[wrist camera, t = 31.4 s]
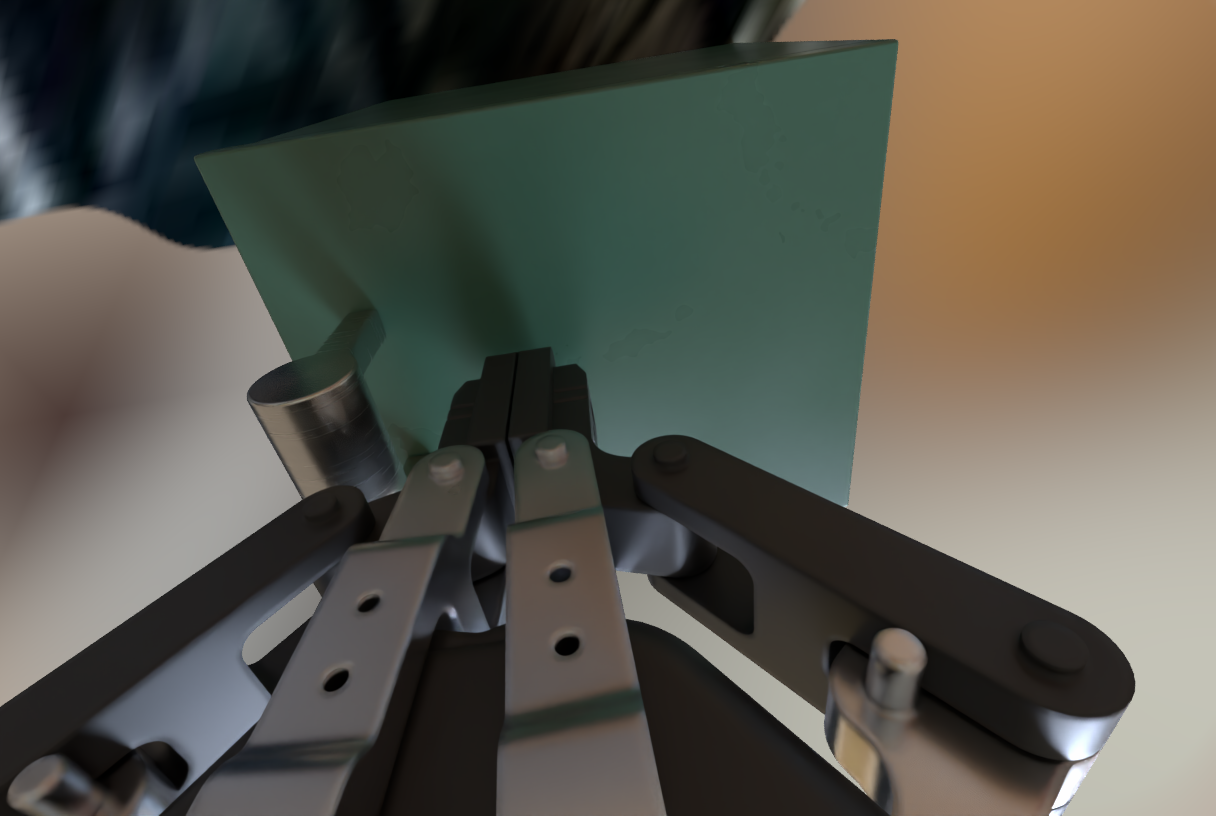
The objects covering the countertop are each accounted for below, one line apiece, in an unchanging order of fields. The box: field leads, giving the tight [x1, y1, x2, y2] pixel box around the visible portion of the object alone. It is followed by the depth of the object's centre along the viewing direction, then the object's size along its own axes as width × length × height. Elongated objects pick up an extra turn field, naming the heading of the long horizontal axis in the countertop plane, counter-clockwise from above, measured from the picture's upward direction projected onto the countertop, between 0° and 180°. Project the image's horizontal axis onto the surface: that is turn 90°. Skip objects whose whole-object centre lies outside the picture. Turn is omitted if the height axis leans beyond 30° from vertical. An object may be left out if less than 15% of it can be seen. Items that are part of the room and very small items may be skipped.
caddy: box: [256, 40, 873, 143], centre depth 19 cm, size 13×12×11 cm
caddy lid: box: [194, 39, 898, 507], centre depth 12 cm, size 13×12×5 cm
